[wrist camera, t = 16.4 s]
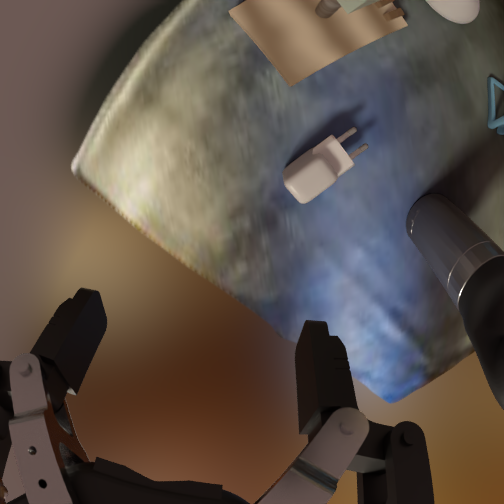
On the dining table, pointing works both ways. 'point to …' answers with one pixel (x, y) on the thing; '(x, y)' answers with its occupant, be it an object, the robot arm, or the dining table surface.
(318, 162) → the power adapter
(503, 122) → the chair
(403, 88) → the dining table surface
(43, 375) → the robot arm
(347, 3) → the square hollow tube
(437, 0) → the flower in vase
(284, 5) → the post
